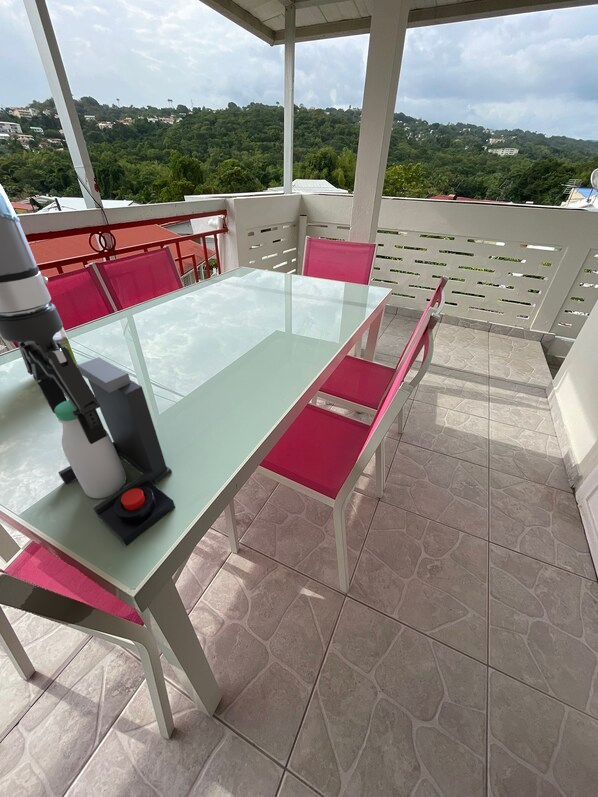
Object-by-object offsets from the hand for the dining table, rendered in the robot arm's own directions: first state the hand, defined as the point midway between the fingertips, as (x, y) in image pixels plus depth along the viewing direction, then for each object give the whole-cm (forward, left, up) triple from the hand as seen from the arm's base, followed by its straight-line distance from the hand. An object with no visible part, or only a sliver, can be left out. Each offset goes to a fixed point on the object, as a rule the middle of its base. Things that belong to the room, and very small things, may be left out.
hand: (79, 423), depth 59 cm
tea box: (+14, +52, -16) cm, 56 cm away
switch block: (0, -12, -16) cm, 20 cm away
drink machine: (+2, 0, -16) cm, 16 cm away
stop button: (0, -12, -12) cm, 17 cm away
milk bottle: (0, 0, -16) cm, 16 cm away
